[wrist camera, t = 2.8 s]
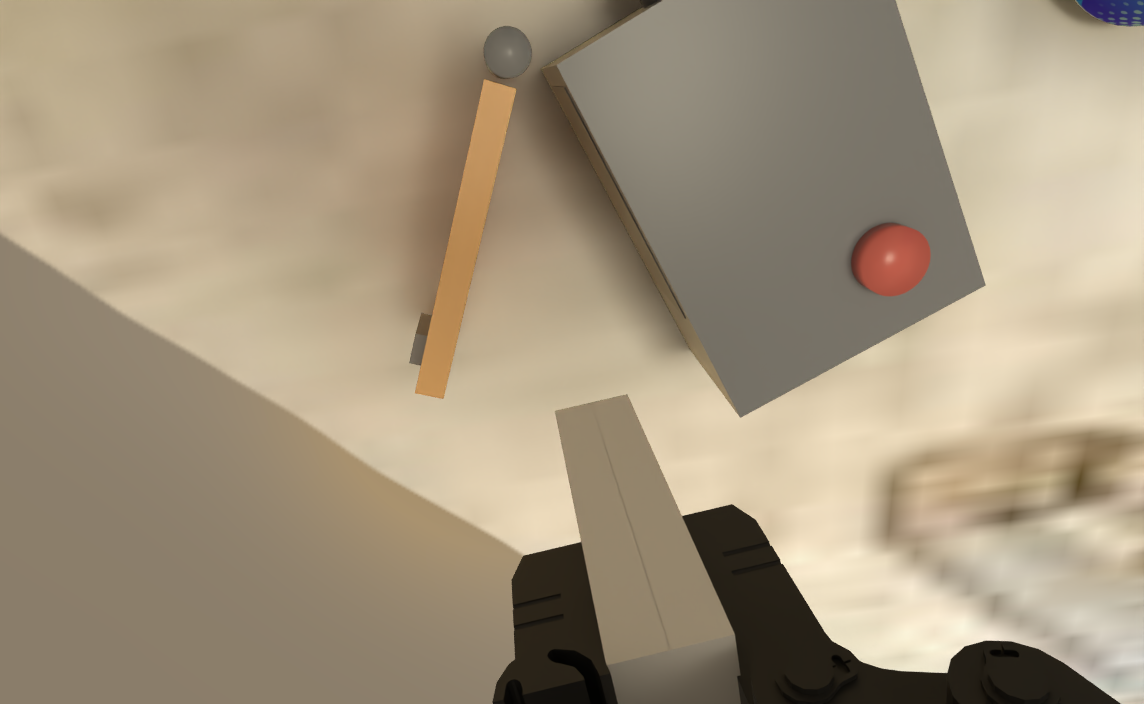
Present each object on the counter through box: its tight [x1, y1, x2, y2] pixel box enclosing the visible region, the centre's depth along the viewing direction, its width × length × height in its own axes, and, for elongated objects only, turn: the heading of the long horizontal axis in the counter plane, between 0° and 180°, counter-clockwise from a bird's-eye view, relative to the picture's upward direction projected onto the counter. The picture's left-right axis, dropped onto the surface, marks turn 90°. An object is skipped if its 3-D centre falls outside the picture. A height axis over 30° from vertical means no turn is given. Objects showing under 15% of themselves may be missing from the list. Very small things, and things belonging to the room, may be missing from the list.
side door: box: [409, 26, 532, 399], centre depth 25 cm, size 12×2×6 cm, turn 164°
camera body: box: [541, 0, 985, 418], centre depth 25 cm, size 15×10×8 cm, turn 29°
